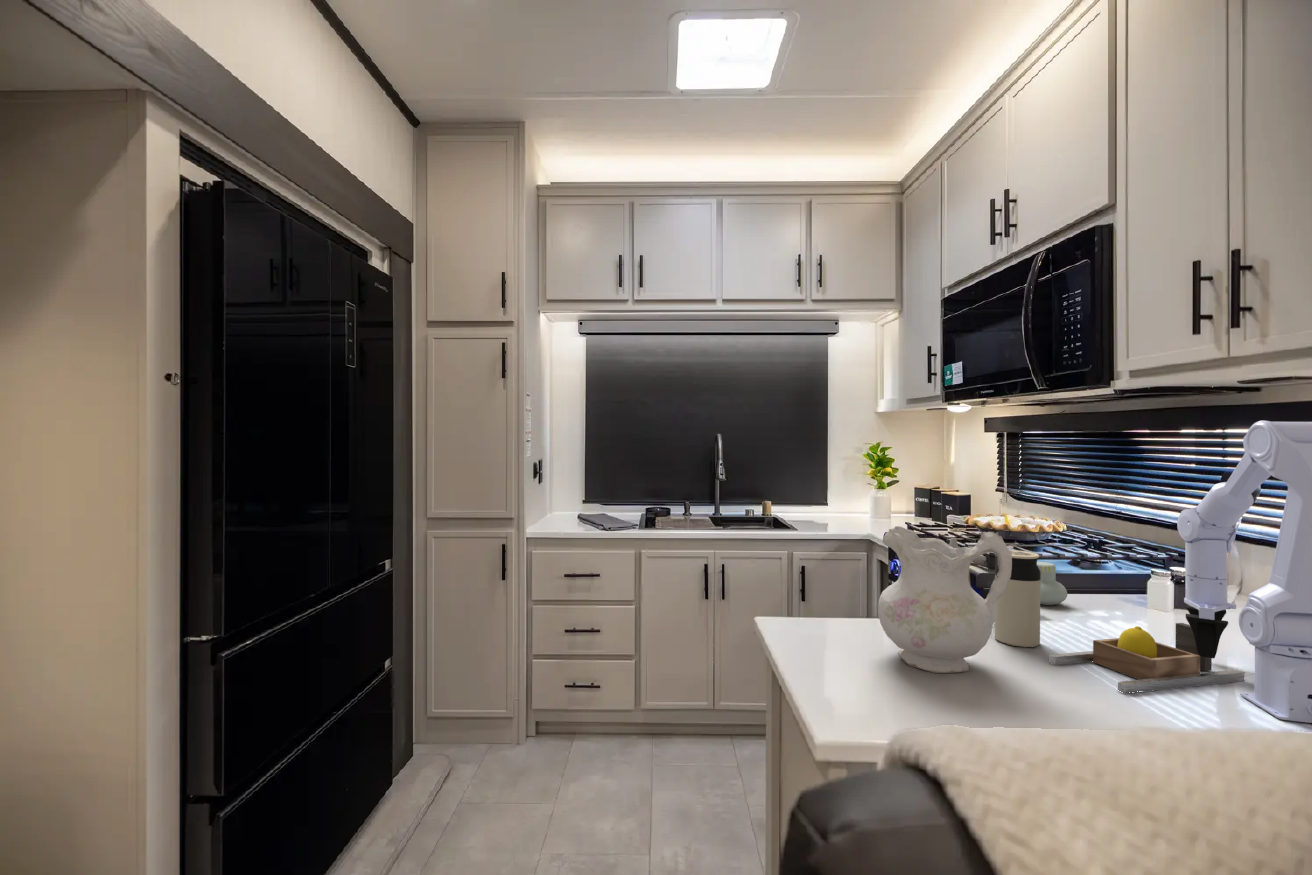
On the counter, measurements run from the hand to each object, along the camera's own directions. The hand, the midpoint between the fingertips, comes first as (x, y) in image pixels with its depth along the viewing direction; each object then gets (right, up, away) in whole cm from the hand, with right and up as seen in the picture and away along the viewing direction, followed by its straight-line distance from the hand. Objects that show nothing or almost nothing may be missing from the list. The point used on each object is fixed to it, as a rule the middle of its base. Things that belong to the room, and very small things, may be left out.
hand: (1206, 651), depth 112 cm
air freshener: (-2, -3, +44) cm, 44 cm away
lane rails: (-15, -3, -3) cm, 15 cm away
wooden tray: (-10, -2, -2) cm, 11 cm away
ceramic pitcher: (-48, -2, 0) cm, 48 cm away
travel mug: (-27, -3, +13) cm, 30 cm away
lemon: (-15, -3, -3) cm, 16 cm away
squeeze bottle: (-31, -3, +32) cm, 44 cm away
